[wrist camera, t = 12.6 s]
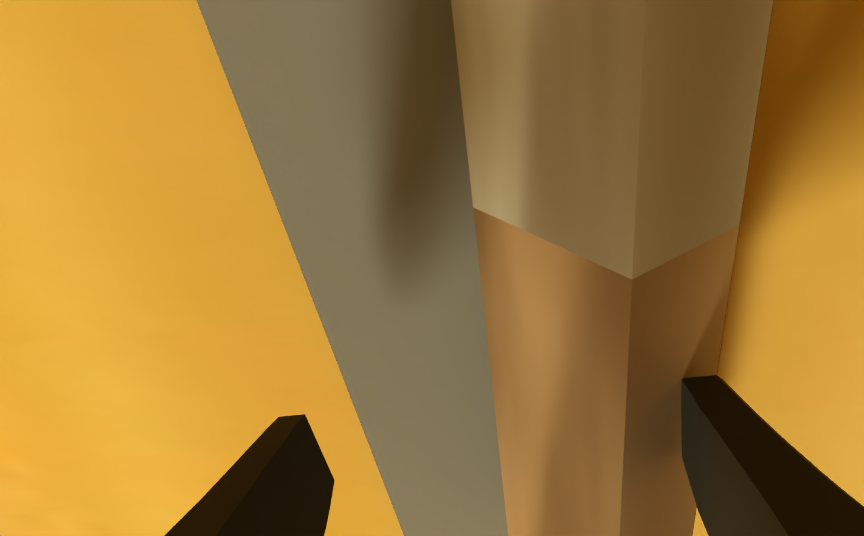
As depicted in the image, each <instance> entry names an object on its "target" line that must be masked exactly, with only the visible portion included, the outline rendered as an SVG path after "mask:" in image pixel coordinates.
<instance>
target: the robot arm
mask: <svg viewBox="0 0 864 536" xmlns="http://www.w3.org/2000/svg"><path fill="white" fill-rule="evenodd" d="M681 436H682V459H683V462H684V466H685V469H686V472H687V476H688V479H689V483H690V486H691V489H692V492H693V496H694V499H695V502H696V505H697V508H698V511H699V514H700V516H701V518H702V521H703V523H704V526H705V528H706V530H707V533H708V535H709V536H864V506H862V505H861V504H860V503H859V502H857V501H856V500H855V499H854V498H852V497H851V496H850V495H849V494H847V493H846V492H845V491H844V490H842V489H841V488H840V487H839V486H838V485H836V484H835V483H834V482H833V481H832V480H830V479H829V478H828V477H827V476H826V475H825V474H823V473H822V472H821V471H820V470H819V469H818V468H816V467H815V466H814V465H813V464H812V463H811V462H810V461H808V460H807V459H806V458H805V457H804V456H803V455H802V454H801V453H799V452H798V451H797V450H796V449H795V448H794V447H793V446H791V445H790V444H789V443H788V442H787V441H786V440H785V439H784V438H783V437H781V436H780V435H779V434H778V433H777V432H776V431H775V430H774V429H773V428H772V427H771V426H770V425H769V424H768V423H766V422H765V421H764V420H763V419H762V418H761V417H760V416H759V415H758V414H757V413H756V412H755V411H754V410H753V409H752V408H751V407H750V406H749V405H748V404H747V403H746V402H745V401H744V400H743V399H742V398H741V397H740V396H739V395H738V394H737V393H736V392H735V391H734V390H733V389H732V388H731V387H730V386H729V385H728V384H727V383H726V382H725V381H724V380H723V379H721V378H720V377H719V376H717V375H711V376H700V377H690V378H683V379H682V382H681ZM333 486H334V478H333V476H332V474H331V472H330V469H329V467H328V465H327V463H326V461H325V458H324V456H323V454H322V452H321V449H320V447H319V445H318V443H317V440H316V438H315V436H314V434H313V432H312V429H311V427H310V425H309V423H308V420H307V418H306V416H305V414H304V415H294V416H284V417H278V418H277V419H276V420H275V421H274V422H273V423H272V424H271V425H270V426H269V427H268V428H267V429H266V430H265V431H264V433H263V434H262V435H261V436H260V437H259V438H258V439H257V440H256V441H255V442H254V443H253V444H252V445H251V446H250V447H249V449H248V450H247V451H246V452H245V453H244V454H243V455H242V456H241V457H240V458H239V459H238V460H237V462H236V463H235V464H234V465H233V466H232V467H231V468H230V469H229V470H228V471H227V472H226V473H225V474H224V475H223V476H222V478H221V479H220V480H219V481H218V482H217V483H216V484H215V485H214V486H213V487H212V488H211V489H210V490H209V491H208V492H207V493H206V495H205V496H204V497H203V498H202V499H201V500H200V501H199V502H198V503H197V504H196V505H195V506H194V507H193V508H192V509H191V510H190V511H189V512H188V513H187V514H186V515H185V516H184V517H183V518H182V519H181V520H180V521H179V522H178V523H177V524H176V525H175V526H174V527H173V528H172V529H171V530H170V531H169V532H168V533H167V534H166V535H165V536H324V533H325V529H326V525H327V520H328V515H329V509H330V504H331V498H332V492H333Z"/></svg>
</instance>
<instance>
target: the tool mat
mask: <svg viewBox="0 0 864 536" xmlns="http://www.w3.org/2000/svg"><path fill="white" fill-rule="evenodd" d="M197 2H198V5H199V7H200V10H201V13H202V15H203V18H204V20H205V23H206V25H207V28H208V31H209V33H210V36H211V38H212V41H213V44H214V46H215V49H216V51H217V54H218V56H219V59H220V62H221V64H222V67H223V69H224V72H225V74H226V77H227V80H228V82H229V85H230V87H231V90H232V93H233V95H234V98H235V100H236V103H237V105H238V108H239V111H240V113H241V116H242V118H243V121H244V123H245V126H246V129H247V131H248V134H249V136H250V139H251V142H252V144H253V147H254V149H255V152H256V154H257V157H258V160H259V162H260V165H261V167H262V170H263V172H264V175H265V178H266V180H267V183H268V185H269V188H270V191H271V193H272V196H273V198H274V201H275V203H276V206H277V209H278V211H279V214H280V216H281V219H282V221H283V224H284V227H285V229H286V232H287V234H288V237H289V240H290V242H291V245H292V247H293V250H294V252H295V255H296V258H297V260H298V263H299V265H300V268H301V270H302V273H303V276H304V278H305V281H306V283H307V286H308V289H309V291H310V294H311V296H312V299H313V301H314V304H315V307H316V309H317V312H318V314H319V317H320V319H321V322H322V325H323V327H324V330H325V332H326V335H327V338H328V340H329V343H330V345H331V348H332V350H333V353H334V356H335V358H336V361H337V363H338V366H339V368H340V371H341V374H342V376H343V379H344V381H345V384H346V387H347V389H348V392H349V394H350V397H351V399H352V402H353V405H354V407H355V410H356V412H357V415H358V417H359V420H360V423H361V425H362V428H363V430H364V433H365V436H366V438H367V441H368V443H369V446H370V448H371V451H372V454H373V456H374V459H375V461H376V464H377V466H378V469H379V472H380V474H381V477H382V479H383V482H384V485H385V487H386V490H387V492H388V495H389V497H390V500H391V503H392V505H393V508H394V510H395V513H396V515H397V518H398V521H399V523H400V526H401V528H402V531H403V534H404V536H508V529H507V519H506V510H505V501H504V491H503V482H502V473H501V463H500V454H499V445H498V435H497V426H496V417H495V407H494V398H493V389H492V379H491V370H490V360H489V351H488V342H487V332H486V323H485V314H484V304H483V295H482V286H481V276H480V267H479V258H478V248H477V239H476V229H475V220H474V211H473V201H472V192H471V183H470V173H469V164H468V155H467V145H466V136H465V127H464V117H463V108H462V99H461V89H460V80H459V70H458V61H457V52H456V42H455V33H454V24H453V14H452V5H451V0H197Z"/></svg>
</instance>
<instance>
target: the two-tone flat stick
mask: <svg viewBox="0 0 864 536" xmlns="http://www.w3.org/2000/svg"><path fill="white" fill-rule="evenodd" d="M451 5H452V14H453V24H454V33H455V42H456V52H457V61H458V70H459V80H460V89H461V99H462V108H463V117H464V127H465V136H466V145H467V155H468V164H469V173H470V183H471V192H472V201H473V211H474V220H475V229H476V239H477V248H478V258H479V267H480V276H481V286H482V295H483V304H484V314H485V323H486V332H487V342H488V351H489V360H490V370H491V379H492V389H493V398H494V407H495V417H496V426H497V435H498V445H499V454H500V463H501V473H502V482H503V491H504V501H505V510H506V519H507V529H508V536H692V535H693V528H694V521H695V515H696V508H697V505H696V502H695V499H694V496H693V492H692V489H691V486H690V483H689V479H688V476H687V472H686V469H685V466H684V462H683V459H682V436H681V382H682V379H683V378H690V377H700V376H711V375H717V370H718V363H719V356H720V350H721V343H722V336H723V330H724V323H725V317H726V310H727V303H728V297H729V290H730V284H731V277H732V270H733V264H734V257H735V251H736V244H737V237H738V231H739V224H740V218H741V211H742V204H743V198H744V191H745V185H746V178H747V171H748V165H749V158H750V152H751V145H752V138H753V132H754V125H755V118H756V112H757V105H758V99H759V92H760V85H761V79H762V72H763V66H764V59H765V52H766V46H767V39H768V33H769V26H770V19H771V13H772V6H773V0H451Z"/></svg>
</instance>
